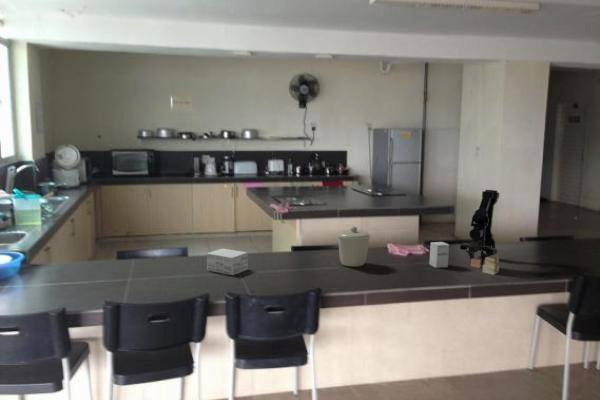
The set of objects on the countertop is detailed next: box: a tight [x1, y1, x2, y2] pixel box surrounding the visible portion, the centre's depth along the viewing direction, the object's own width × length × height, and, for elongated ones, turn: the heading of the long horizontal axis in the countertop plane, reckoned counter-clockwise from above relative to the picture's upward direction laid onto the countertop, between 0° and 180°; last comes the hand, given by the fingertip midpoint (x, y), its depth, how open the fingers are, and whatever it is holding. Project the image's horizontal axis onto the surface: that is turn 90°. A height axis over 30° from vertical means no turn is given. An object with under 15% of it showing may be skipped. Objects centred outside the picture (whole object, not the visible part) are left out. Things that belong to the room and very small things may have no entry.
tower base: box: [482, 263, 500, 276], centre depth 269 cm, size 6×6×4 cm
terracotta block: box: [470, 256, 485, 269], centre depth 280 cm, size 5×5×4 cm
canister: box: [336, 225, 371, 268], centre depth 278 cm, size 18×18×21 cm
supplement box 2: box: [206, 248, 249, 276], centre depth 265 cm, size 17×13×9 cm
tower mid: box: [484, 255, 500, 267], centre depth 268 cm, size 5×5×4 cm
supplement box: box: [428, 241, 450, 269], centre depth 279 cm, size 7×7×13 cm
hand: (477, 264), depth 280 cm, fingers closed on terracotta block, 5 cm apart
